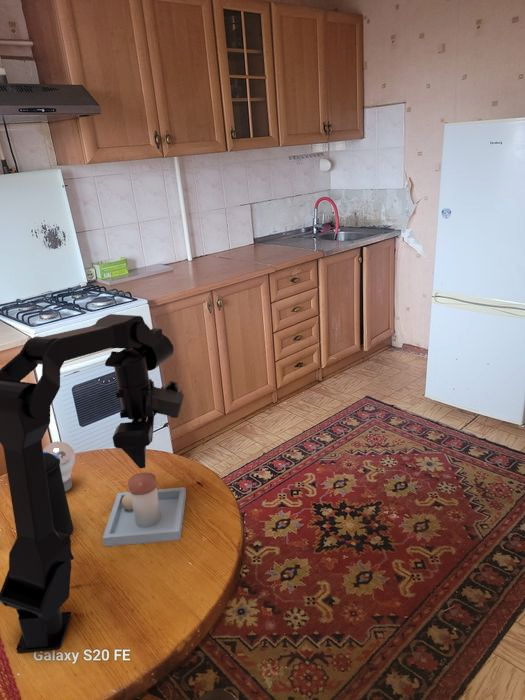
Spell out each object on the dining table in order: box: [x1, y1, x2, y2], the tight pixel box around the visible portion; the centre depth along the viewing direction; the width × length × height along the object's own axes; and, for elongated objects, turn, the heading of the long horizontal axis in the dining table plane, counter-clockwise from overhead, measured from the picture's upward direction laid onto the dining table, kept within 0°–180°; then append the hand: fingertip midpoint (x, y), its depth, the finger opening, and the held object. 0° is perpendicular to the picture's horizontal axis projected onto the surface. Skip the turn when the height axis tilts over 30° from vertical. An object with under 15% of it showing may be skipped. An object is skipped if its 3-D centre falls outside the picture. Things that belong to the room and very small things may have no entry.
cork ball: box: [122, 494, 133, 510], centre depth 109 cm, size 3×3×3 cm
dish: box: [102, 486, 187, 548], centre depth 105 cm, size 14×14×2 cm
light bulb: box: [43, 441, 76, 492], centre depth 115 cm, size 7×7×12 cm
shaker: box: [127, 471, 161, 527], centre depth 104 cm, size 5×5×9 cm
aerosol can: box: [43, 452, 74, 538], centre depth 100 cm, size 8×8×20 cm
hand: (146, 454), depth 103 cm, fingers open, 9 cm apart
